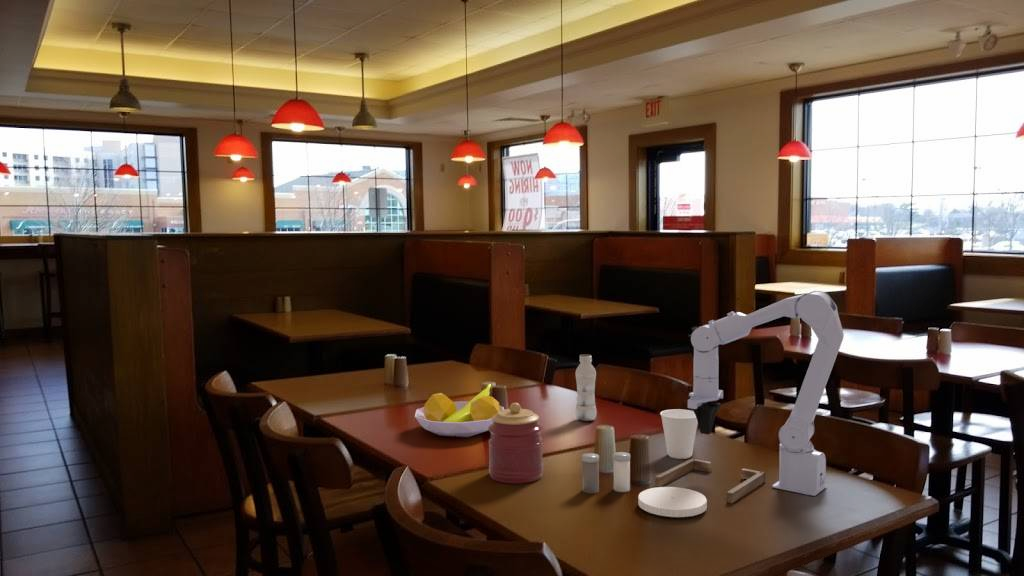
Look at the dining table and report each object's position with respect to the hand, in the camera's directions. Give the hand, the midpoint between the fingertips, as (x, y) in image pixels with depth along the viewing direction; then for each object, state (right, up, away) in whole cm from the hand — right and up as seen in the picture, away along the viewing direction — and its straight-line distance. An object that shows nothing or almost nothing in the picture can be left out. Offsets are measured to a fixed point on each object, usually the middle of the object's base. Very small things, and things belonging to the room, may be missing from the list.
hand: (705, 433), depth 184 cm
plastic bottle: (-23, -6, +54) cm, 59 cm away
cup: (-3, -9, +16) cm, 19 cm away
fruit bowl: (-60, -8, +44) cm, 75 cm away
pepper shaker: (-28, -11, -10) cm, 32 cm away
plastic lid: (-12, -12, -21) cm, 27 cm away
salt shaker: (-21, -11, -9) cm, 25 cm away
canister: (-45, -11, +2) cm, 46 cm away
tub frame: (-1, -10, -6) cm, 12 cm away
